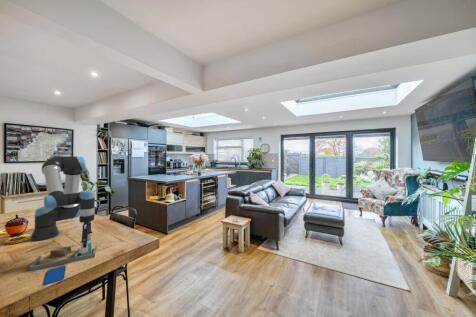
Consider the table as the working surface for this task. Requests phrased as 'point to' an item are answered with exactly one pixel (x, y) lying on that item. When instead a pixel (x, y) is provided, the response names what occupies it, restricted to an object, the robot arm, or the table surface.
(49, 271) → the smartphone
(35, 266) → the slot rack
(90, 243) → the teal block
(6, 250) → the table surface
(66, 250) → the walnut block
